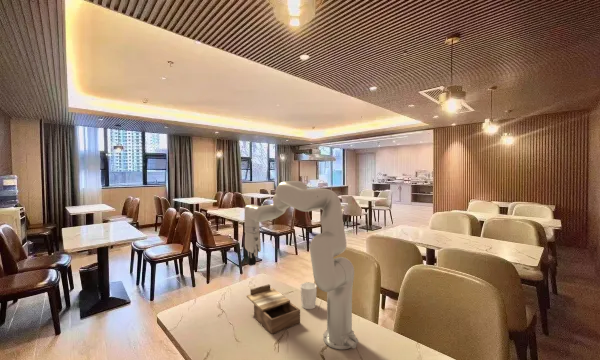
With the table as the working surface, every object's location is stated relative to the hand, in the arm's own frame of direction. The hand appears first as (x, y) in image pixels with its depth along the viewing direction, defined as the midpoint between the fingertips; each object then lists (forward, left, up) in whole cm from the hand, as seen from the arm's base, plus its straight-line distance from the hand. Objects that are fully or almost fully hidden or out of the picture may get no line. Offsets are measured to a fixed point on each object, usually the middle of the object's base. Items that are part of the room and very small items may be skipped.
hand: (252, 264), depth 138 cm
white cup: (-22, -19, -18) cm, 35 cm away
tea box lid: (-16, 0, -12) cm, 20 cm away
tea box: (-24, 0, -18) cm, 30 cm away
